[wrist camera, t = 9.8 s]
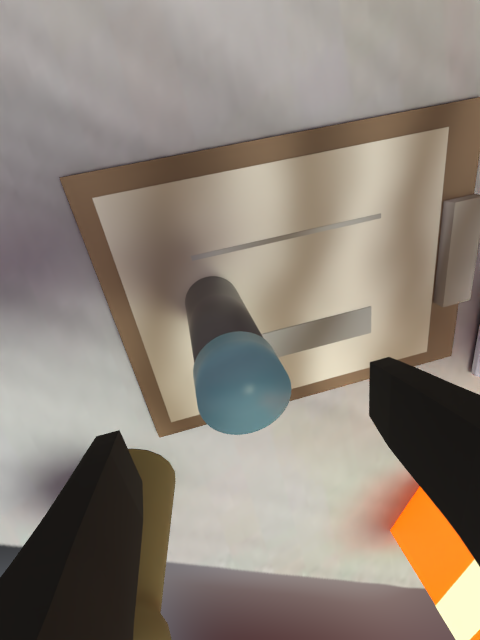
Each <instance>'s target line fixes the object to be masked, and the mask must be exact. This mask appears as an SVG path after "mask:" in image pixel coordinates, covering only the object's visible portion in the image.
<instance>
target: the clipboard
mask: <svg viewBox="0 0 480 640" xmlns="http://www.w3.org/2000/svg"><path fill="white" fill-rule="evenodd" d="M479 153H480V97H478V98H473V99H468V100H463V101H457V102H452V103H447V104H442V105H436V106H431V107H426V108H421V109H416V110H410V111H405V112H400V113H395V114H389V115H384V116H379V117H374V118H369V119H363V120H358V121H353V122H348V123H342V124H337V125H332V126H327V127H322V128H316V129H311V130H306V131H301V132H295V133H290V134H285V135H280V136H275V137H269V138H264V139H259V140H254V141H248V142H243V143H238V144H233V145H228V146H222V147H217V148H212V149H207V150H201V151H196V152H191V153H186V154H181V155H175V156H170V157H165V158H160V159H154V160H149V161H144V162H139V163H133V164H128V165H123V166H118V167H113V168H107V169H102V170H97V171H92V172H86V173H81V174H76V175H71V176H66V177H60V181H61V183H62V186H63V189H64V191H65V194H66V196H67V199H68V201H69V204H70V207H71V209H72V212H73V214H74V217H75V220H76V222H77V225H78V227H79V230H80V233H81V235H82V238H83V240H84V243H85V246H86V248H87V251H88V253H89V256H90V259H91V261H92V264H93V266H94V269H95V272H96V274H97V277H98V279H99V282H100V285H101V287H102V290H103V292H104V295H105V298H106V300H107V303H108V305H109V308H110V311H111V313H112V316H113V318H114V321H115V324H116V326H117V329H118V331H119V334H120V337H121V339H122V342H123V344H124V347H125V350H126V352H127V355H128V357H129V360H130V363H131V365H132V368H133V370H134V373H135V376H136V378H137V381H138V383H139V386H140V389H141V391H142V394H143V396H144V399H145V401H146V404H147V407H148V409H149V412H150V414H151V417H152V420H153V422H154V425H155V427H156V430H157V433H158V435H159V438H160V437H163V436H167V435H171V434H174V433H178V432H181V431H185V430H188V429H192V428H195V427H199V426H203V425H206V422H205V421H204V420H203V419H202V417H201V415H200V413H199V411H198V406H197V399H196V392H195V385H194V378H193V367H194V358H193V352H192V345H191V339H190V332H189V326H188V320H187V313H186V307H185V298H186V294H187V292H188V290H189V288H190V287H191V286H192V285H193V284H194V283H195V282H196V281H198V280H200V279H202V278H204V277H209V276H218V277H222V278H224V279H226V280H228V281H229V282H231V283H232V284H233V286H234V287H235V289H236V290H237V292H238V294H239V296H240V297H241V299H242V301H243V303H244V304H245V306H246V308H247V310H248V311H249V313H250V315H251V317H252V319H253V320H254V322H255V324H256V326H257V327H258V329H259V331H260V333H261V334H262V336H263V338H264V339H265V340H266V341H267V342H268V343H269V344H270V345H271V347H272V348H273V350H274V352H275V353H276V355H277V357H278V358H279V360H280V362H281V364H282V365H283V367H284V369H285V370H286V372H287V374H288V376H289V378H290V382H291V396H290V400H289V401H292V400H295V399H299V398H302V397H306V396H310V395H313V394H317V393H320V392H324V391H327V390H331V389H335V388H338V387H342V386H345V385H349V384H352V383H356V382H360V381H363V380H367V379H370V362H372V361H376V360H379V359H383V358H387V357H391V358H394V359H396V360H399V361H401V362H404V363H406V364H408V365H411V366H417V365H420V364H424V363H427V362H431V361H434V360H438V359H442V358H445V357H449V356H451V354H452V347H453V340H454V333H455V325H456V318H457V311H458V304H459V303H462V302H465V301H469V300H470V298H471V291H472V285H473V278H474V272H475V266H476V259H477V253H478V246H479V240H480V195H477V194H474V189H475V182H476V175H477V168H478V160H479Z"/></svg>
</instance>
